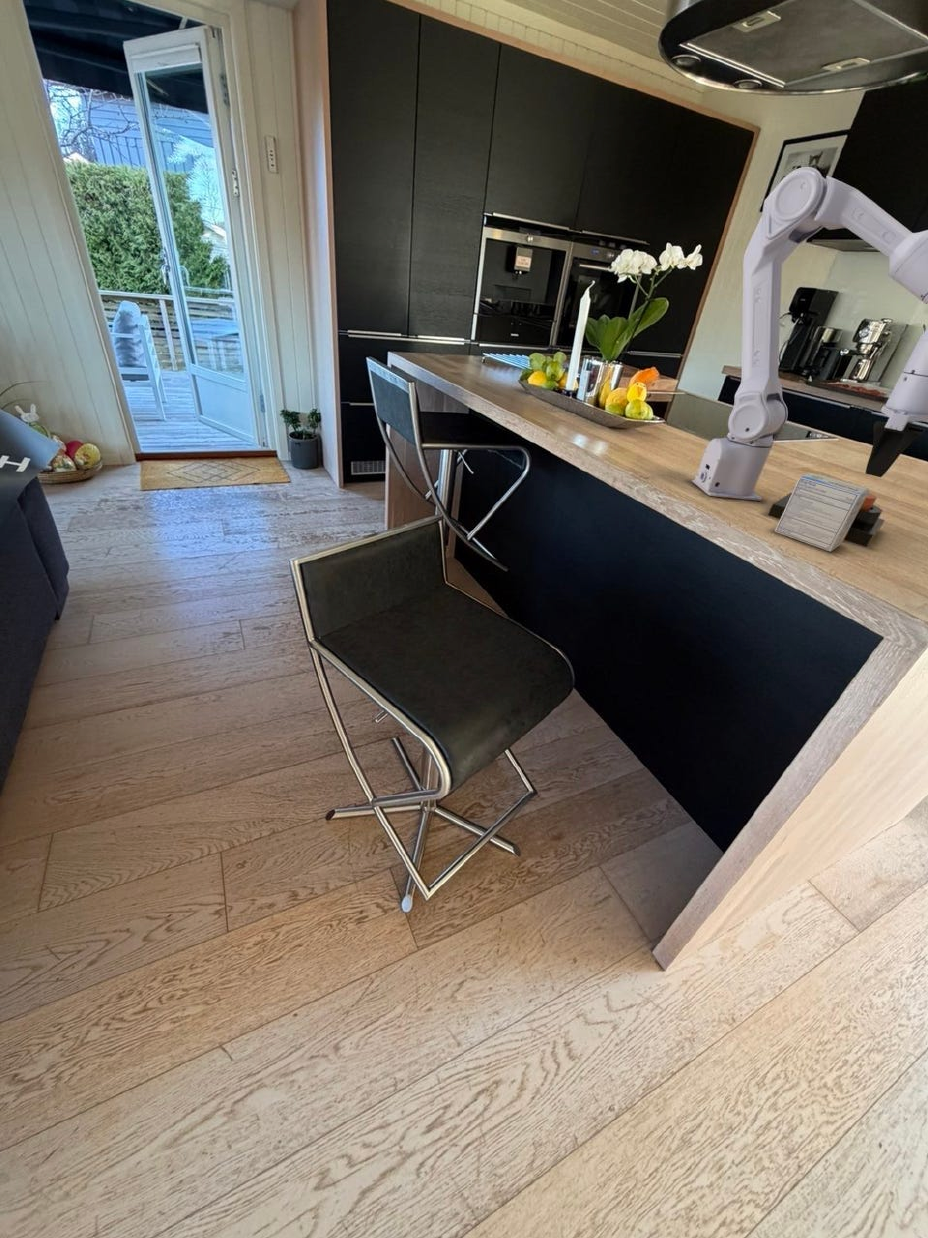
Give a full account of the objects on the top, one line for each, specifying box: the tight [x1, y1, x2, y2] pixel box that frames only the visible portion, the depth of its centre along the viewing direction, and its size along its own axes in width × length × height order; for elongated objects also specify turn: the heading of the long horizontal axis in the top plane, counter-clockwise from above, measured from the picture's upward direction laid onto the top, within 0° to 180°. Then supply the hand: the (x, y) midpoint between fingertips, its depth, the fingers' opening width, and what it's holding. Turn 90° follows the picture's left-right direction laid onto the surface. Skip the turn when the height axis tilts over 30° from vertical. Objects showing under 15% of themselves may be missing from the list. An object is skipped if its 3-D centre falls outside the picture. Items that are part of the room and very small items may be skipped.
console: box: [767, 492, 885, 548], centre depth 82 cm, size 10×14×4 cm
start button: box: [860, 492, 877, 510], centre depth 80 cm, size 4×4×2 cm
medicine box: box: [774, 472, 870, 553], centre depth 74 cm, size 8×4×9 cm, turn 40°
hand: (873, 474), depth 77 cm, fingers closed
